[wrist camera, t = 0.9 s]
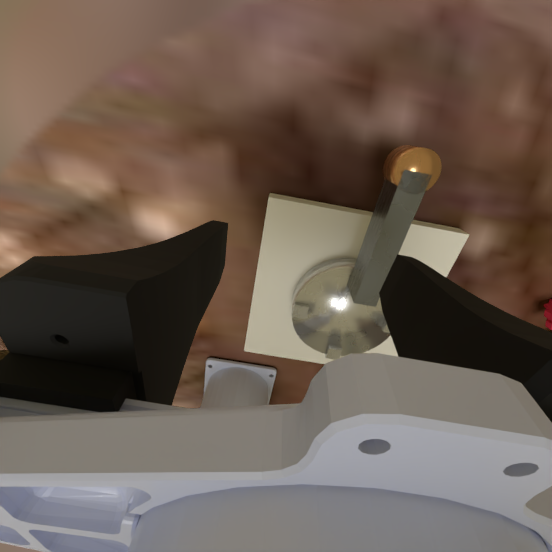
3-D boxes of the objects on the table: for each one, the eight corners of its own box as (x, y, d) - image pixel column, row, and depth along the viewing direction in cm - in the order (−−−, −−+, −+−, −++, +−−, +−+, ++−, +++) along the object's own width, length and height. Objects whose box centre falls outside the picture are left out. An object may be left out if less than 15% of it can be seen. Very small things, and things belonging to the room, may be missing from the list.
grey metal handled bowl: (373, 347, 27) (387, 386, 23) (283, 332, 27) (282, 369, 23) (461, 155, 19) (508, 164, 15) (332, 129, 19) (344, 131, 14)
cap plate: (388, 364, 31) (393, 375, 29) (245, 341, 30) (243, 351, 29) (459, 228, 23) (470, 235, 22) (269, 192, 22) (268, 197, 21)
